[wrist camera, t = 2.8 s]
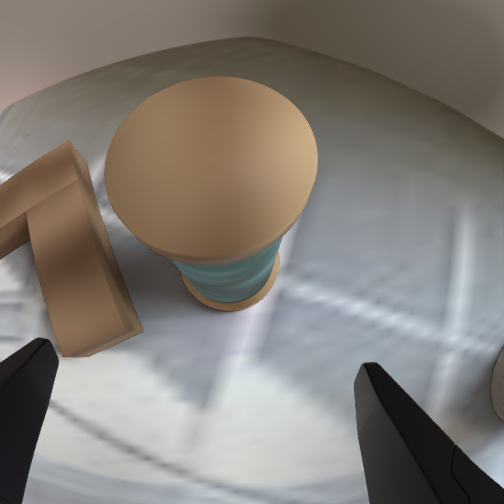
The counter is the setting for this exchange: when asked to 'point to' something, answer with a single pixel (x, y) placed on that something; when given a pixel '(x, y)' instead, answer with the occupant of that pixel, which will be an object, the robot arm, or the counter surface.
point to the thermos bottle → (498, 386)
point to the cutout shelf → (68, 251)
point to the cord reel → (214, 183)
